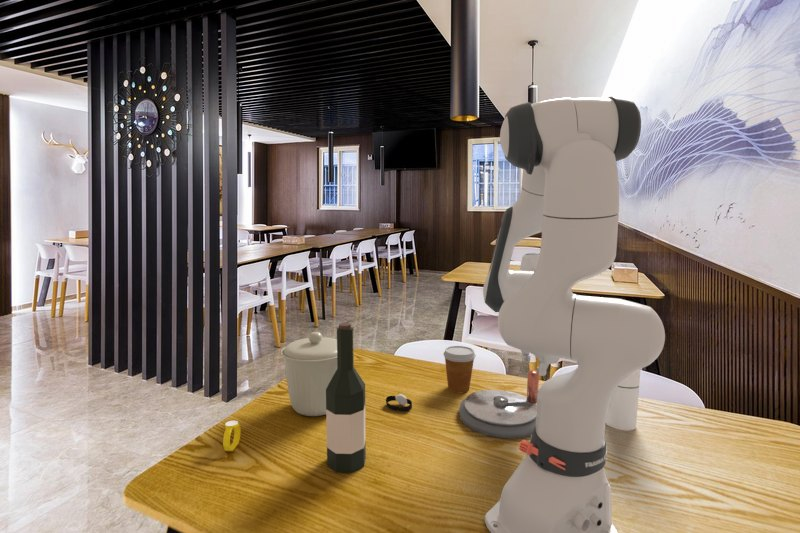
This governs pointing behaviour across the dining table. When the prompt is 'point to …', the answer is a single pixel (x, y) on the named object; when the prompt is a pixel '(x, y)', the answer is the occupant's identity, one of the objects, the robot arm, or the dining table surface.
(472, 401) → the handwheel
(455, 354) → the disposable coffee cup
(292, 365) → the canister
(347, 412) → the wine bottle
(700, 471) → the dining table surface
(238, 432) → the watch
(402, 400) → the watch
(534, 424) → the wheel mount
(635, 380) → the cylindrical container
